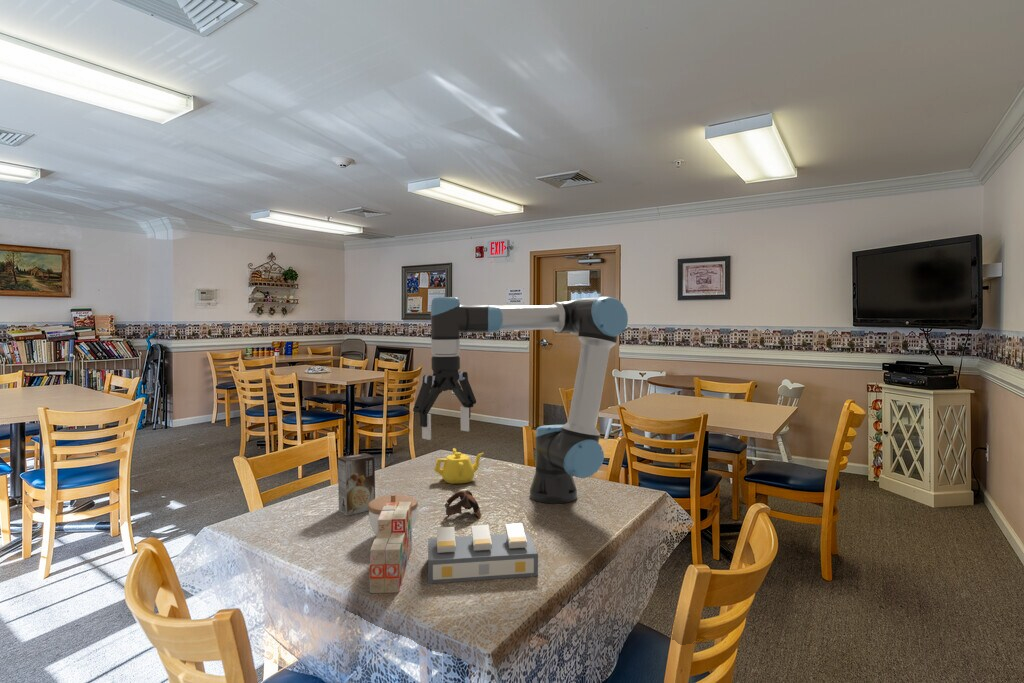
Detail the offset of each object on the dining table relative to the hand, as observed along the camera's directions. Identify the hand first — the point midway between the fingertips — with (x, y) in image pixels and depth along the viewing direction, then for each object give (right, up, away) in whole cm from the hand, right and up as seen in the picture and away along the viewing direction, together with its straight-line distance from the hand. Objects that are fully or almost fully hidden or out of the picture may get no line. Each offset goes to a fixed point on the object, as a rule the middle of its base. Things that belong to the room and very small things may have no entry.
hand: (446, 434), depth 143 cm
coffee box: (-29, -26, +17) cm, 42 cm away
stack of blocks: (-10, -27, -22) cm, 36 cm away
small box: (+18, -20, -20) cm, 34 cm away
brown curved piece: (+4, -26, +12) cm, 29 cm away
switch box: (+10, -27, -21) cm, 35 cm away
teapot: (-1, -25, +48) cm, 54 cm away
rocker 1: (+3, -20, -22) cm, 30 cm away
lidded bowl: (-14, -26, -3) cm, 30 cm away
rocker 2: (+10, -20, -21) cm, 31 cm away
